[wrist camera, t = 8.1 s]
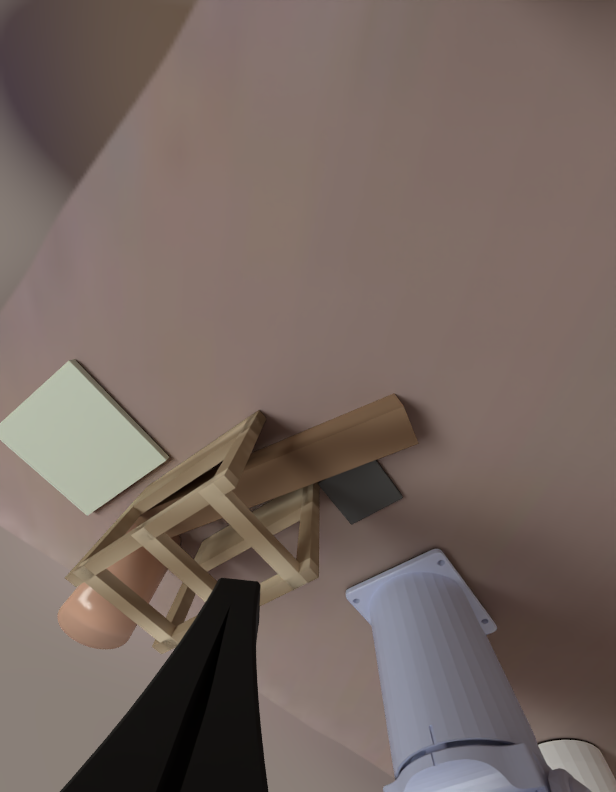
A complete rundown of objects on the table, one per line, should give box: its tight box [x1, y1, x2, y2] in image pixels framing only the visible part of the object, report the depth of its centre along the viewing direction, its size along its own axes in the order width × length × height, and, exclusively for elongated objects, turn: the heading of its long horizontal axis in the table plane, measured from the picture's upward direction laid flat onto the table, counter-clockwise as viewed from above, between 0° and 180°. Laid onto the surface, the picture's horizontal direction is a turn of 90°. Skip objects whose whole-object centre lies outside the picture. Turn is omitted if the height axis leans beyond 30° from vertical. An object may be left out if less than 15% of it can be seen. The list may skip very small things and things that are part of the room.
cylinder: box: [58, 523, 181, 649], centre depth 19 cm, size 4×4×6 cm
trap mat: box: [318, 460, 403, 525], centre depth 19 cm, size 4×4×1 cm
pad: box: [0, 359, 169, 516], centre depth 19 cm, size 8×8×1 cm
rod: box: [135, 394, 419, 538], centre depth 18 cm, size 2×18×2 cm, turn 116°
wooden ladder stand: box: [65, 410, 320, 654], centre depth 16 cm, size 6×10×7 cm, turn 126°
